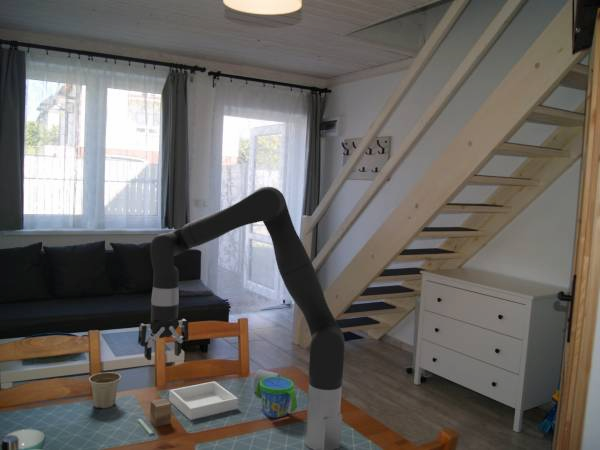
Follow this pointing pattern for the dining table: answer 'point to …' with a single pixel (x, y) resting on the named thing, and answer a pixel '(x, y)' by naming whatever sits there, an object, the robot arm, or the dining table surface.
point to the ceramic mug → (261, 375)
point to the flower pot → (104, 388)
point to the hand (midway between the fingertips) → (163, 357)
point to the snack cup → (276, 396)
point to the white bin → (202, 400)
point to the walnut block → (160, 412)
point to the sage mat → (145, 427)
